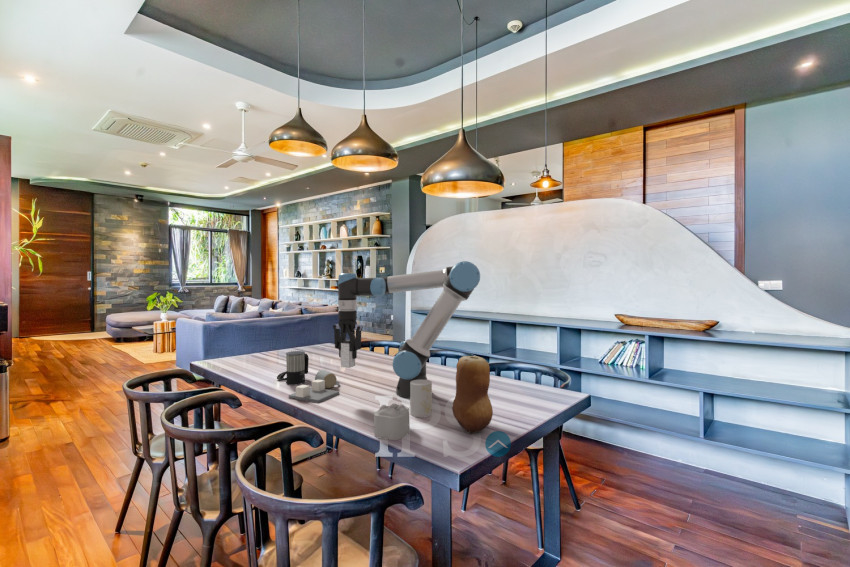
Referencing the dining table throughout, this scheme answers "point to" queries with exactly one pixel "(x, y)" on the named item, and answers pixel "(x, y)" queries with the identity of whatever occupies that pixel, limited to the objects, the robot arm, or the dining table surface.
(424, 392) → the cup
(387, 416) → the lumpy-topped squat cylinder
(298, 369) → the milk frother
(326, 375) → the ceramic mug
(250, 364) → the dining table surface
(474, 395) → the butternut squash
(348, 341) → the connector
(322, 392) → the board
